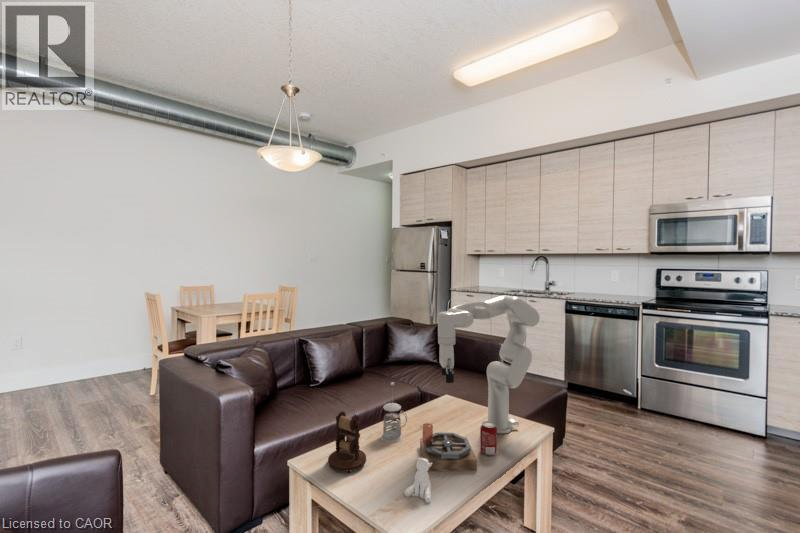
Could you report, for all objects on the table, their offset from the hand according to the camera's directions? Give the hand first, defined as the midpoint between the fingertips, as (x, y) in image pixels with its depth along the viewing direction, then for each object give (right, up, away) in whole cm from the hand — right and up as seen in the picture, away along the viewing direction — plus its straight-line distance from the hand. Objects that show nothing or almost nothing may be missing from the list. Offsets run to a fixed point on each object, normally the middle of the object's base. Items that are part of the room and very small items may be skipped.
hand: (447, 378), depth 166 cm
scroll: (-42, -28, -18) cm, 53 cm away
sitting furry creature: (-14, -29, -35) cm, 48 cm away
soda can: (+16, -29, -8) cm, 34 cm away
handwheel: (-2, -24, -13) cm, 28 cm away
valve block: (-2, -28, -13) cm, 31 cm away
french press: (-24, -28, +4) cm, 37 cm away
